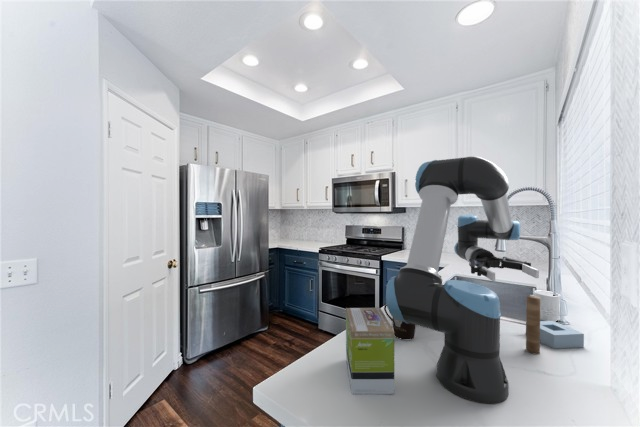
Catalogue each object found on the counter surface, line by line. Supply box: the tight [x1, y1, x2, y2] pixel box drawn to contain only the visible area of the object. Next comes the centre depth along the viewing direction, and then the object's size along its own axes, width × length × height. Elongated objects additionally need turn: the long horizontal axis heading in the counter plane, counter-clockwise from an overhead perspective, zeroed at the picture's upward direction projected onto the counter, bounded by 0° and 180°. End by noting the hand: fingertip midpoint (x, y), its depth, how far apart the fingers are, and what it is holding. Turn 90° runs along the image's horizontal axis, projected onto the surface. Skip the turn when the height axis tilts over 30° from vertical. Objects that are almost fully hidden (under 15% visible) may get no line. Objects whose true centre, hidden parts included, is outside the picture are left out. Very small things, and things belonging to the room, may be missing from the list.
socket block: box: [540, 320, 585, 349], centre depth 88 cm, size 10×10×4 cm
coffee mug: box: [383, 303, 417, 340], centre depth 92 cm, size 12×9×10 cm
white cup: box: [533, 289, 562, 322], centre depth 105 cm, size 8×8×10 cm
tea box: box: [345, 307, 396, 395], centre depth 68 cm, size 15×10×15 cm
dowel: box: [525, 295, 541, 355], centre depth 81 cm, size 3×3×16 cm
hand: (515, 275), depth 88 cm, fingers open, 13 cm apart
